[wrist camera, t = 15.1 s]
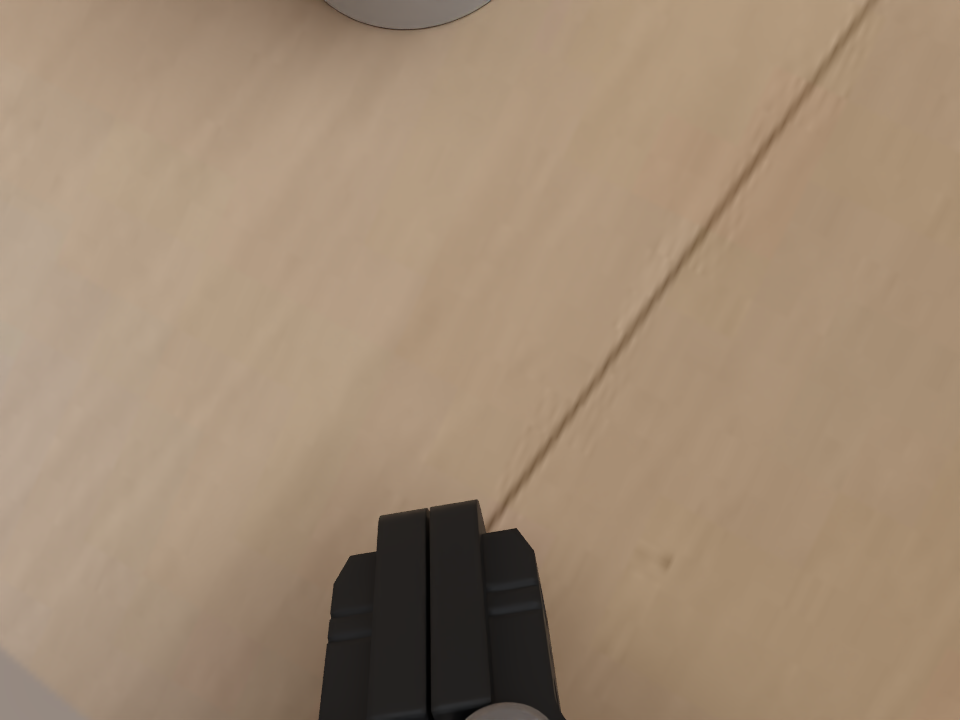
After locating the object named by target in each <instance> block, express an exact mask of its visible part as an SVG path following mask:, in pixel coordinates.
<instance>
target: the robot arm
mask: <svg viewBox="0 0 960 720" xmlns="http://www.w3.org/2000/svg"><path fill="white" fill-rule="evenodd" d="M330 614H331V619H330V622H329V631H328V644H327V649H326V658H325V667H324V676H323V685H322V694H321V703H320V712H319V720H566V719H565V718H564V716H563V715H562V713H561V709H560V702H559V696H558V689H557V682H556V676H555V668H554V662H553V655H552V648H551V641H550V634H549V628H548V621H547V615H546V610H545V605H544V600H543V595H542V589H541V584H540V579H539V574H538V569H537V563H536V558H535V553H534V550H533V549H532V548H531V546H530V545H529V544H528V542H527V541H526V540H525V539H524V537H523V536H522V535H521V533H520V532H519V531H518V529H517V528H515V529H509V530H503V531H497V532H491V533H486V530H485V526H484V521H483V517H482V513H481V508H480V505H479V501H478V500H471V501H465V502H459V503H453V504H447V505H441V506H435V507H431V508H430V511H429V509H428V508H424V509H418V510H412V511H406V512H400V513H394V514H388V515H382V516H380V518H379V522H378V536H377V551H376V552H370V553H364V554H358V555H352V556H350V557H349V559H348V560H347V562H346V564H345V565H344V567H343V569H342V571H341V572H340V574H339V576H338V577H337V579H336V581H335V583H334V586H333V595H332V604H331V613H330Z"/></svg>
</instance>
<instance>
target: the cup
mask: <svg viewBox="0 0 960 720" xmlns="http://www.w3.org/2000/svg"><path fill="white" fill-rule="evenodd" d="M324 1H325V2H327V3H328V4H329V5H330V6H332V7H333V8H335V9H336V10H338V11H339V12H341V13H343V14H345V15H346V16H348V17H351V18H353V19H355V20H357V21H360V22H363V23H366V24H370V25H373V26H378V27H383V28H391V29H418V28H426V27H432V26H437V25H441V24H444V23H448V22H451V21H453V20H456V19H459V18H461V17H463V16H465V15H468V14H469V13H471V12H473V11H475V10H477V9H478V8H480V7H482V6H483V5H485V4H486V3H488V2H489V1H490V0H324Z"/></svg>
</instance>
